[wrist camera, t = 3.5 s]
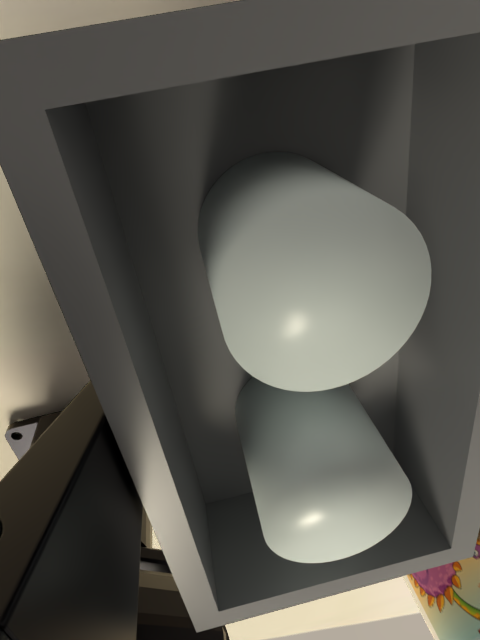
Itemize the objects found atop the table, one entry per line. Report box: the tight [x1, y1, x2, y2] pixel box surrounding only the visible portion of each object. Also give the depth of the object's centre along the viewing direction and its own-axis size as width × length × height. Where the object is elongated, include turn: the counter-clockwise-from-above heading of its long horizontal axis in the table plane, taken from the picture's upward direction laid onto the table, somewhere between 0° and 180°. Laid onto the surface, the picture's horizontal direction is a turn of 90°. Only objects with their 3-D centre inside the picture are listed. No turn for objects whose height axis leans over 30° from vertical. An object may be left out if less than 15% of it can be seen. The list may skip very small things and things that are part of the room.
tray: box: [0, 0, 480, 632], centre depth 8 cm, size 11×6×4 cm, turn 9°
